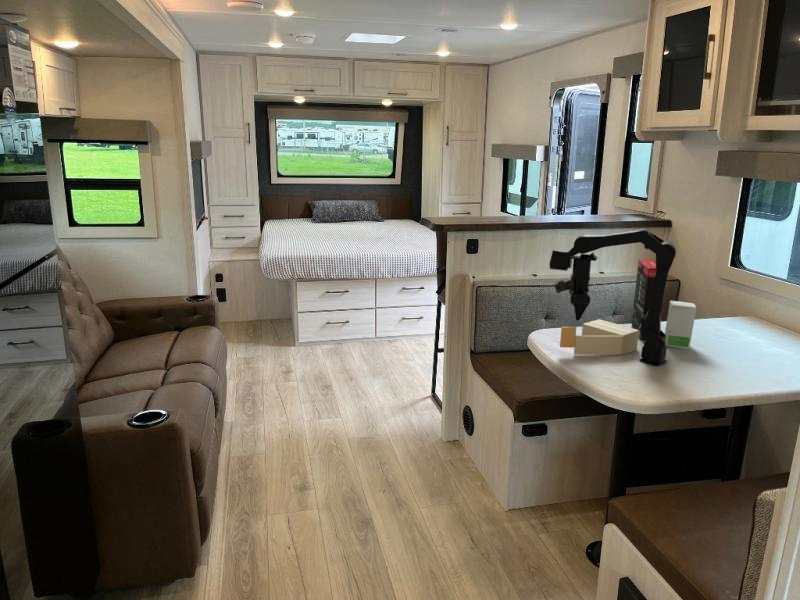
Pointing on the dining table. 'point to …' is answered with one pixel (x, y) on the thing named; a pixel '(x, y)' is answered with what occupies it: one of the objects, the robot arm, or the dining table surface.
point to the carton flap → (590, 343)
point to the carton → (613, 333)
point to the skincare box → (680, 324)
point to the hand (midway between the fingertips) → (577, 316)
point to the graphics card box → (643, 291)
